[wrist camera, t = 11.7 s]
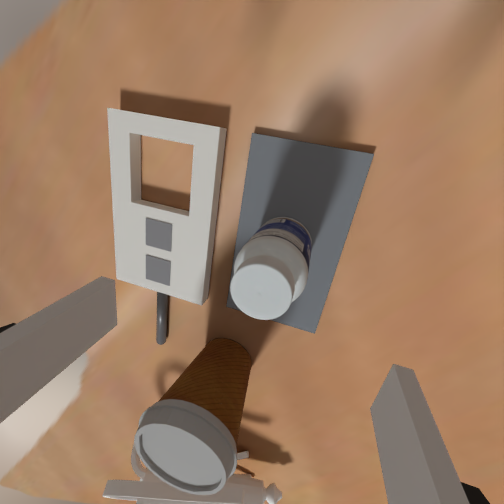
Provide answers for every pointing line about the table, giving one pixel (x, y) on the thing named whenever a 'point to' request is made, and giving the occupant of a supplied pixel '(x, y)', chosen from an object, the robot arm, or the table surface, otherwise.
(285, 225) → the pill bottle
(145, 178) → the table surface
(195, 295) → the socket strip
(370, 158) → the rubber mat
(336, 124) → the table surface
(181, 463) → the disposable coffee cup
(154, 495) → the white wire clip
